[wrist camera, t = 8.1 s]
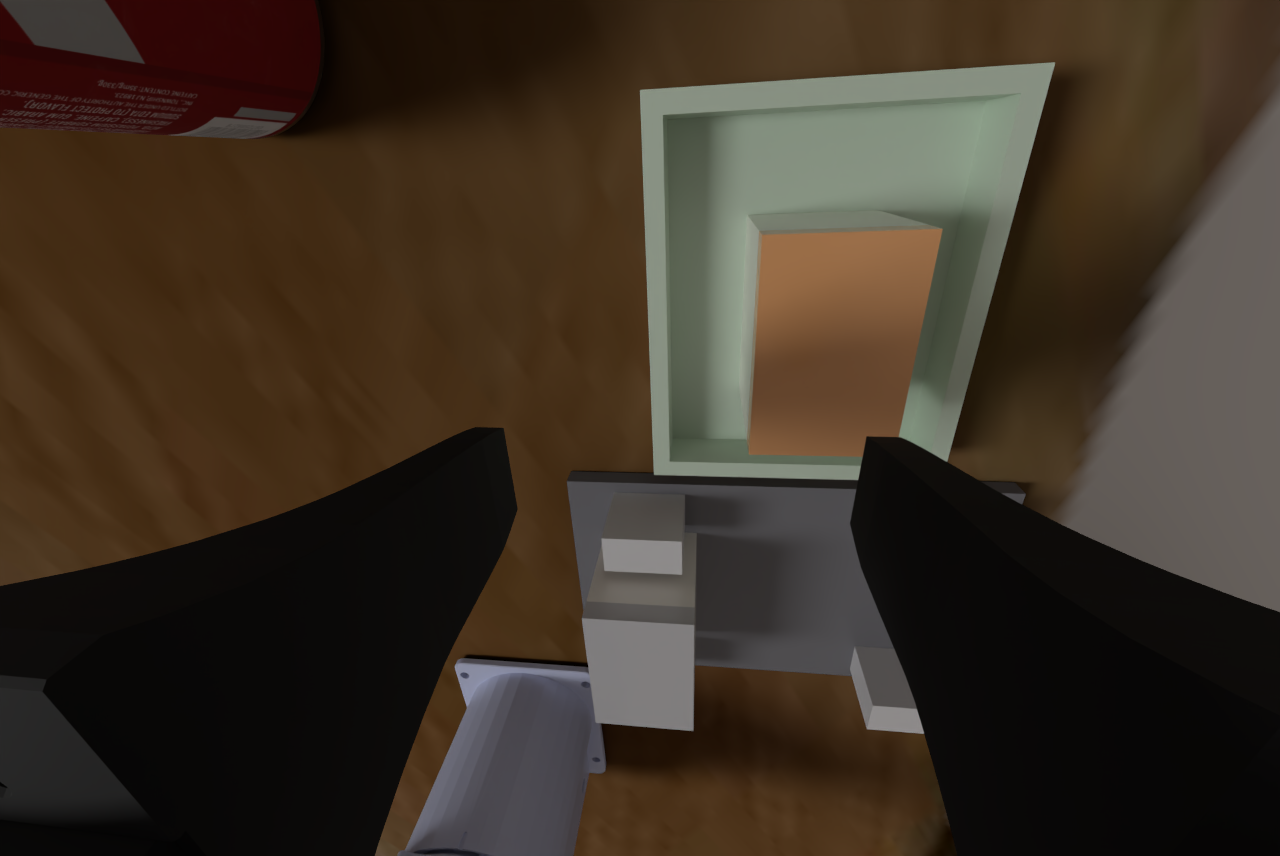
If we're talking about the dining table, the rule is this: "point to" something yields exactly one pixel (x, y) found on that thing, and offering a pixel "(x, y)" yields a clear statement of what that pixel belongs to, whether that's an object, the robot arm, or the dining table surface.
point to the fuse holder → (755, 572)
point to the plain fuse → (643, 645)
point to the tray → (822, 182)
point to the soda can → (160, 65)
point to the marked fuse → (830, 327)
